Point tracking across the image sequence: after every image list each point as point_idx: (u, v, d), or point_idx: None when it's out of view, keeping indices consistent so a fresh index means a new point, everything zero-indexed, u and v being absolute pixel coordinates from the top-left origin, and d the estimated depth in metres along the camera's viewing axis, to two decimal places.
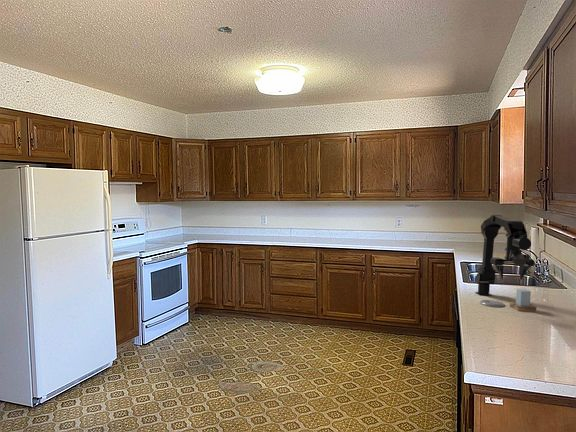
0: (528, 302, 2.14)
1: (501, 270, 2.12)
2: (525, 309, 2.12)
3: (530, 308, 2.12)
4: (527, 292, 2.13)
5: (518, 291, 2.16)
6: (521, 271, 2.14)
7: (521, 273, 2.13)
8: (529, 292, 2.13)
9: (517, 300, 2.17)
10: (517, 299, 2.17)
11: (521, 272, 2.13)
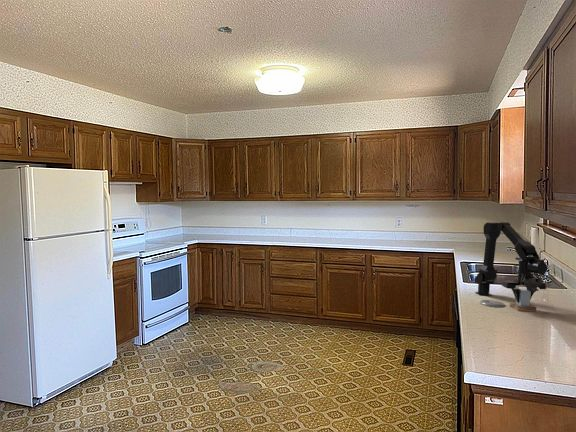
0: (528, 302, 2.14)
1: (517, 293, 2.14)
2: (525, 309, 2.12)
3: (530, 308, 2.12)
4: (527, 292, 2.13)
5: None
6: None
7: None
8: (529, 292, 2.13)
9: None
10: None
11: None
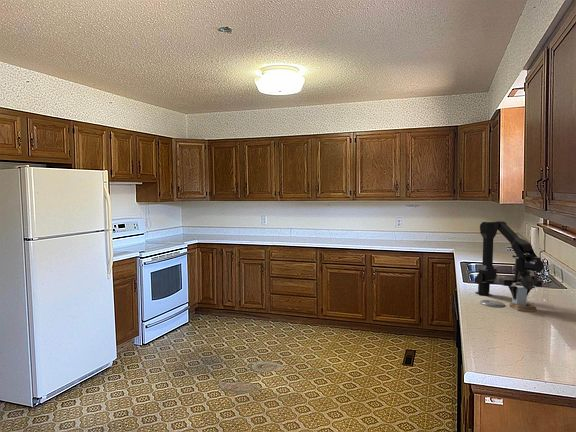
0: (525, 300, 2.17)
1: (514, 291, 2.17)
2: (525, 309, 2.12)
3: (530, 308, 2.12)
4: (523, 289, 2.16)
5: None
6: None
7: None
8: (525, 289, 2.16)
9: None
10: None
11: None
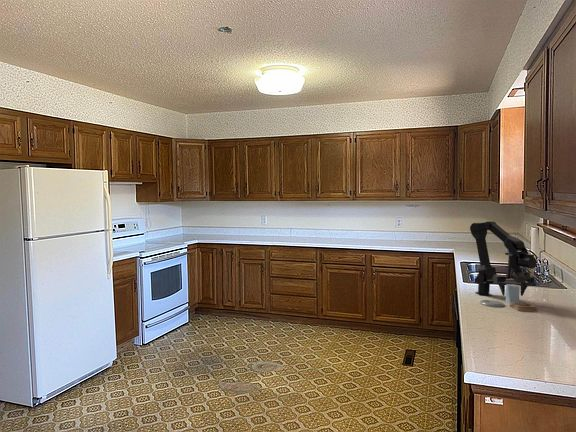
0: (518, 297, 2.24)
1: (503, 287, 2.24)
2: (525, 309, 2.12)
3: (530, 308, 2.12)
4: (516, 287, 2.23)
5: (508, 286, 2.26)
6: (522, 288, 2.26)
7: (522, 290, 2.25)
8: (518, 287, 2.23)
9: (507, 295, 2.27)
10: (507, 294, 2.27)
11: (522, 289, 2.26)
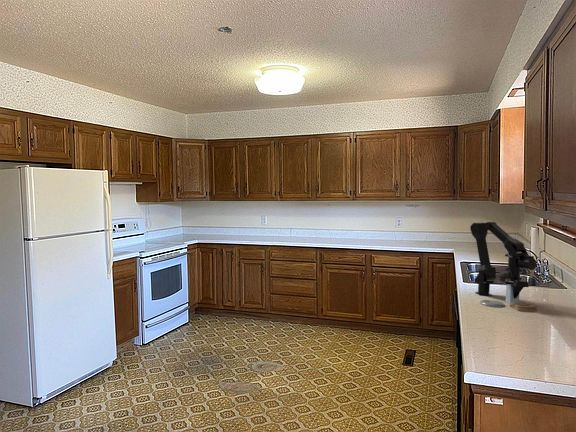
0: (518, 297, 2.24)
1: None
2: (525, 309, 2.12)
3: (530, 308, 2.12)
4: None
5: (508, 286, 2.26)
6: None
7: None
8: None
9: (507, 295, 2.27)
10: (507, 294, 2.27)
11: None
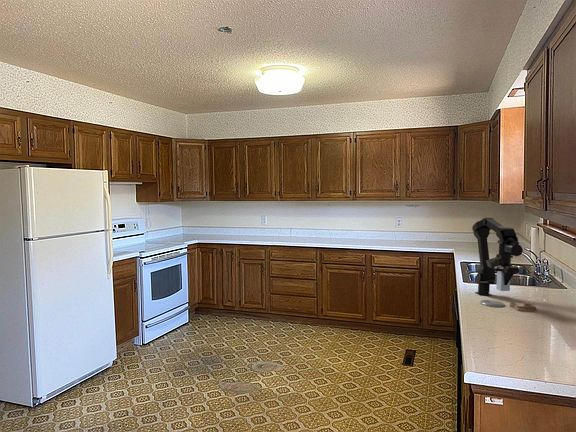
0: (508, 284, 2.21)
1: None
2: (525, 309, 2.12)
3: (530, 308, 2.12)
4: None
5: (499, 273, 2.24)
6: None
7: None
8: None
9: (498, 282, 2.24)
10: (498, 281, 2.24)
11: None
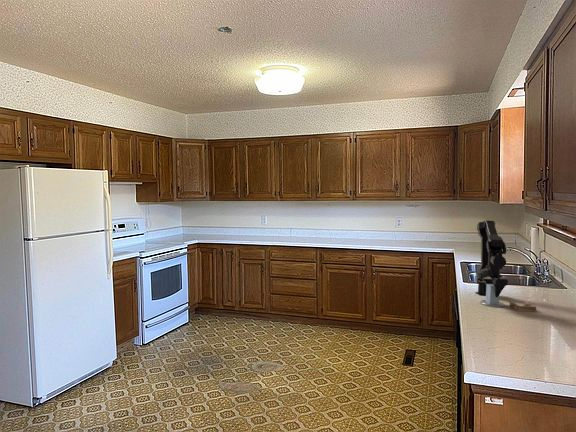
0: (498, 297, 2.21)
1: (485, 283, 2.28)
2: (525, 309, 2.12)
3: (530, 308, 2.12)
4: None
5: (488, 286, 2.23)
6: None
7: None
8: None
9: (487, 295, 2.23)
10: (487, 294, 2.23)
11: None
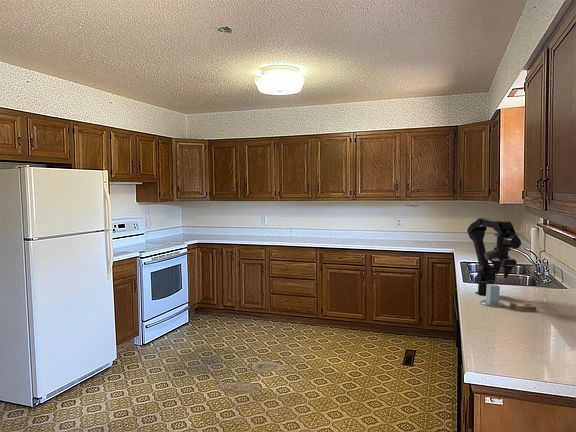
0: (498, 297, 2.21)
1: (493, 265, 2.33)
2: (525, 309, 2.12)
3: (530, 308, 2.12)
4: (496, 287, 2.20)
5: (488, 286, 2.23)
6: None
7: None
8: (498, 287, 2.20)
9: (487, 295, 2.23)
10: (487, 294, 2.23)
11: None
